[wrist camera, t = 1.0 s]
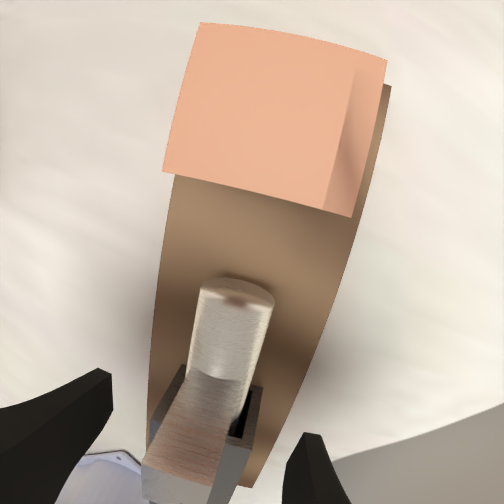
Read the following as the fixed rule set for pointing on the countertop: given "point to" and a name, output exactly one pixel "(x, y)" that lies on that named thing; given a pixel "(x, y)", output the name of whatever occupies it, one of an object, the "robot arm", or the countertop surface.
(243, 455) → the sleeve
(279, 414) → the walnut board
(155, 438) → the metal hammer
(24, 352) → the countertop surface
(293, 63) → the socket
